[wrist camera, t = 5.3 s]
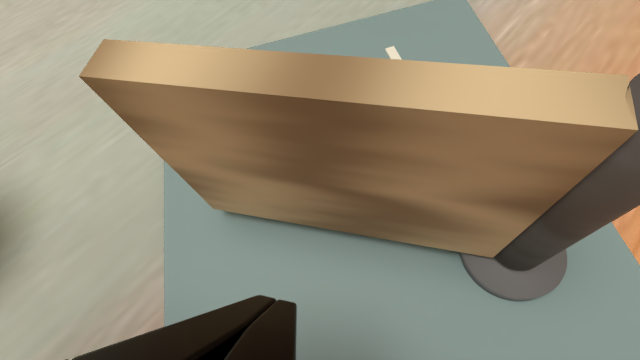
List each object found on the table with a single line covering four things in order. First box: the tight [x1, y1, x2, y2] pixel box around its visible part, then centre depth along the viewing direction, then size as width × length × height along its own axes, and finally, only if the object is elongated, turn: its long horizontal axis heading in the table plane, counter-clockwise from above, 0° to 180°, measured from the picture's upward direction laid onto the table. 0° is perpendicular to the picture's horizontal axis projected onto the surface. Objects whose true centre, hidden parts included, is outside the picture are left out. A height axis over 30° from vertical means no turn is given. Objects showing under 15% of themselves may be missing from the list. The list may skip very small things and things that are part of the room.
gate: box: [79, 39, 640, 271], centre depth 11 cm, size 13×2×8 cm, turn 77°
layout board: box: [164, 0, 640, 360], centre depth 16 cm, size 22×18×1 cm
